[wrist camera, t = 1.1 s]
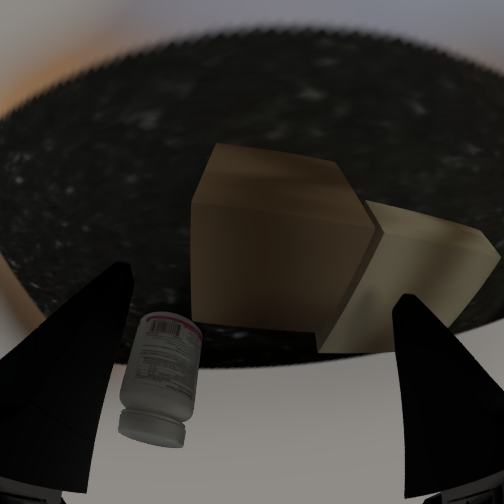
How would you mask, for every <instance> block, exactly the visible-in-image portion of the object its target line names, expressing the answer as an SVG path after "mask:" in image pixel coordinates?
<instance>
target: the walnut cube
mask: <svg viewBox="0 0 504 504" xmlns="http://www.w3.org/2000/svg"><path fill="white" fill-rule="evenodd" d="M375 229H376V228H375V227H374V225H373V223H372V221H371V219H370V218H369V216H368V214H367V212H366V211H365V209H364V207H363V206H362V204H361V202H360V201H359V199H358V197H357V196H356V194H355V192H354V191H353V189H352V187H351V186H350V184H349V183H348V181H347V179H346V178H345V176H344V175H343V173H342V172H341V170H340V169H339V167H338V166H337V164H336V163H335V162H332V161H327V160H322V159H317V158H312V157H307V156H302V155H296V154H291V153H285V152H279V151H273V150H266V149H260V148H252V147H245V146H237V145H228V144H219V143H216V145H215V148H214V150H213V152H212V154H211V157H210V159H209V161H208V164H207V166H206V168H205V170H204V173H203V175H202V178H201V180H200V182H199V185H198V187H197V190H196V192H195V195H194V197H193V199H192V202H191V305H192V321H195V322H203V323H210V324H219V325H227V326H237V327H247V328H257V329H269V330H282V331H298V332H316V333H322V332H323V330H324V328H325V326H326V325H327V323H328V321H329V319H330V318H331V316H332V314H333V312H334V311H335V309H336V307H337V305H338V303H339V302H340V300H341V298H342V296H343V294H344V292H345V290H346V289H347V287H348V285H349V283H350V281H351V279H352V277H353V275H354V273H355V271H356V269H357V267H358V265H359V263H360V261H361V259H362V257H363V255H364V253H365V251H366V249H367V247H368V244H369V242H370V240H371V238H372V236H373V234H374V231H375Z"/></svg>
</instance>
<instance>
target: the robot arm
mask: <svg viewBox="0 0 504 504" xmlns="http://www.w3.org/2000/svg"><path fill="white" fill-rule="evenodd" d="M133 289H134V280H133V275H132V270H131V266H130V264H129V263H126V262H119V261H118V262H116V263H114V264H113V265H112V266H110V267H109V268H108V269H106V270H105V271H104V272H103V273H101V274H100V275H99V276H97V277H96V278H95V279H94V280H92V281H91V282H90V283H89V284H87V285H86V286H85V287H84V288H83V289H81V290H80V291H79V292H78V293H76V294H75V295H74V296H73V297H72V298H70V299H69V300H68V301H67V302H66V303H65V304H63V305H62V306H61V307H60V308H59V309H58V310H56V311H55V312H54V313H53V314H52V315H51V316H50V317H48V318H47V319H46V320H45V321H44V322H43V323H42V324H41V325H40V326H39V327H38V328H36V329H35V330H34V331H33V332H32V333H31V334H29V335H28V336H27V337H26V338H25V339H24V340H23V341H22V342H21V343H19V344H18V345H17V346H16V347H15V348H14V349H12V350H11V351H10V352H9V353H8V354H6V355H5V356H4V357H3V358H1V359H0V504H66V503H65V501H64V500H63V498H62V497H61V495H62V491H68V492H76V493H85V494H86V492H87V486H88V479H89V472H90V466H91V459H92V454H93V449H94V442H95V438H96V433H97V428H98V424H99V419H100V414H101V410H102V406H103V402H104V398H105V394H106V390H107V387H108V383H109V379H110V375H111V372H112V368H113V365H114V362H115V358H116V355H117V352H118V348H119V345H120V342H121V339H122V336H123V332H124V329H125V324H126V319H127V315H128V310H129V306H130V302H131V297H132V293H133ZM392 321H393V332H394V345H395V355H396V361H397V367H398V375H399V382H400V391H401V400H402V411H403V423H404V441H405V491H404V497H405V499H407V498H413V497H418V496H423V495H428V494H433V493H437V492H440V493H438V494H436V495H434V496H432V497H429V498H427V499H425V501H424V503H423V504H504V391H503V390H502V388H501V387H499V385H498V384H497V383H496V382H495V381H494V380H493V379H492V378H491V377H490V376H489V374H488V373H487V372H486V371H485V370H484V369H483V367H482V366H481V365H480V364H479V363H478V362H477V360H475V358H474V357H473V356H472V355H471V354H470V352H469V351H468V350H467V349H466V348H465V347H464V346H463V344H462V343H461V342H460V341H459V340H458V339H457V338H456V337H455V336H454V335H453V333H452V332H451V331H450V330H449V329H448V328H447V327H446V326H445V325H444V324H443V323H442V322H441V321H440V320H439V319H438V318H437V316H436V315H435V314H434V313H433V312H432V311H431V310H430V309H429V308H428V307H427V306H426V305H425V304H424V303H423V302H422V301H421V300H420V299H419V298H418V297H417V296H416V295H414V294H411V293H404V294H403V295H402V296H401V297H400V299H399V300H398V302H397V303H396V305H395V306H394V307H393V310H392Z"/></svg>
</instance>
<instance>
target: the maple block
mask: <svg viewBox="0 0 504 504" xmlns="http://www.w3.org/2000/svg"><path fill="white" fill-rule="evenodd" d="M363 207H364V209H365V211H366V212H367V214H368V216H369V218H370V219H371V221H372V223H373V225H374V227H375V228H376V229H375V231H374V234H373V236H372V238H371V240H370V242H369V244H368V247H367V249H366V251H365V253H364V255H363V257H362V259H361V261H360V263H359V265H358V267H357V269H356V271H355V273H354V275H353V277H352V279H351V281H350V283H349V285H348V287H347V289H346V290H345V292H344V294H343V296H342V298H341V300H340V302H339V303H338V305H337V307H336V309H335V311H334V312H333V314H332V316H331V318H330V319H329V321H328V323H327V325H326V326H325V328H324V330H323V332H322V333H316V332H315V336H316V343H317V350H318V353H379V352H395V345H394V332H393V321H392V310H393V307H394V306H395V305H396V303H397V302H398V300H399V299H400V297H401V296H402V295H403V294H404V293H411V294H414V295H416V296H417V297H418V298H419V299H420V300H421V301H422V302H423V303H424V304H425V305H426V306H427V307H428V308H429V309H430V310H431V311H432V312H433V313H434V314H435V315H436V316H437V318H438V319H439V320H440V321H441V322H442V323H443V324H444V325H445V326H446V327H447V328H448V327H449V326H450V325H451V324H452V323H453V321H454V320H455V319H456V318H457V317H458V316H459V314H460V313H461V312H462V311H463V310H464V308H465V307H466V306H467V305H468V303H469V302H470V301H471V300H472V298H473V297H474V296H475V294H476V293H477V292H478V290H479V289H480V288H481V286H482V285H483V284H484V282H485V281H486V279H487V278H488V277H489V275H490V274H491V272H492V271H493V269H494V268H495V266H496V265H497V263H498V262H499V260H500V259H501V256H500V255H499V254H498V252H497V251H496V250H495V248H494V247H493V246H492V245H491V243H490V242H489V241H488V240H487V238H486V237H485V236H484V235H483V233H482V232H481V231H480V230H477V229H474V228H471V227H467V226H464V225H461V224H457V223H454V222H450V221H447V220H443V219H440V218H436V217H432V216H429V215H425V214H421V213H417V212H413V211H409V210H405V209H401V208H397V207H393V206H388V205H384V204H380V203H375V202H370V201H366V200H365V202H364V205H363Z"/></svg>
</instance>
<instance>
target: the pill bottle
mask: <svg viewBox="0 0 504 504" xmlns="http://www.w3.org/2000/svg"><path fill="white" fill-rule="evenodd" d="M201 347H202V333H201V331H200V329H199V328H198V327H197V326H196V325H195V324H194V323H193V322H192V321H190V320H189V319H187V318H185V317H183V316H181V315H179V314H175V313H171V312H153V313H149V314H147V315H145V316H144V317H143V318H142V319H141V320H140V323H139V325H138V328H137V332H136V336H135V340H134V343H133V347H132V350H131V354H130V357H129V361H128V364H127V368H126V371H125V375H124V378H123V382H122V386H121V390H120V400H121V403H122V404H123V405H124V406H125V407H126V409H124V410H122V412H121V413H122V414H120V420H119V427H118V431H119V433H121V434H122V435H124V436H126V437H129V438H131V439H134V440H137V441H140V442H144V443H147V444H151V445H156V446H161V447H168V448H181V447H183V445H184V439H185V433H186V431H185V425H184V424H183V423H182V422H184V421H187V420H188V419H190V418H191V416H192V414H193V410H194V402H195V393H196V385H197V376H198V369H199V362H200V354H201Z"/></svg>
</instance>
